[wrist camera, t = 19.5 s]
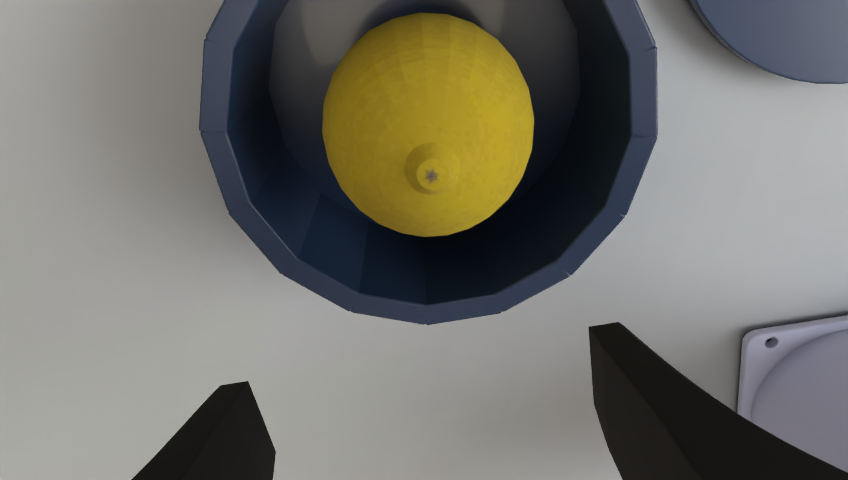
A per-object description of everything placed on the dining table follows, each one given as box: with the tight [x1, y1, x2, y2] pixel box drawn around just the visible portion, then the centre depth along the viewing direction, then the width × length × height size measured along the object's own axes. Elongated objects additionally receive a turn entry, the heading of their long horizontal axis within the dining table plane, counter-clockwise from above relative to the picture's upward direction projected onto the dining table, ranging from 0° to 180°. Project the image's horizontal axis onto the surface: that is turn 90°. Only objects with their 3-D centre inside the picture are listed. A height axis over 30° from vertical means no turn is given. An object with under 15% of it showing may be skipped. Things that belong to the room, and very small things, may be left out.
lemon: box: [322, 13, 534, 237], centre depth 16 cm, size 6×6×8 cm
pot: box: [199, 0, 658, 325], centre depth 18 cm, size 11×11×6 cm
